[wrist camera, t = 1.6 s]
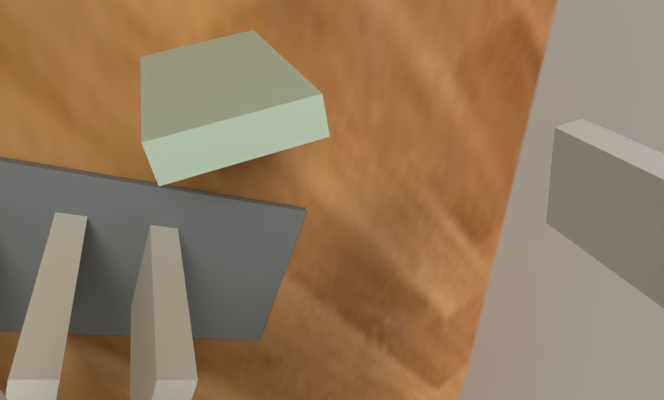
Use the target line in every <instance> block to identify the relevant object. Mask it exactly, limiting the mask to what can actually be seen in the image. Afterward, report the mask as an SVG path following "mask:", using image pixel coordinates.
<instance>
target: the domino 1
mask: <svg viewBox="0 0 664 400" xmlns="http://www.w3.org/2000/svg"><path fill="white" fill-rule="evenodd" d="M87 217H88V216H80V215H73V214H65V213H57V212H55V215H54V219H53V222H52V226H51V229H50V233H49V236H48V240H47V243H46V247H45V250H44V254H43V258H42V261H41V265H40V268H39V272H38V275H37V279H36V282H35V286H34V289H33V293H32V296H31V300H30V303H29V307H28V310H27V314H26V317H25V321H24V324H23V328H22V332H21V335H20V339H19V342H18V346H17V349H16V353H15V356H14V360H13V363H12V367H11V370H10V374H9V377H8V382H7V390H6V398H7V399H8V400H56V398H57V392H58V387H59V381H60V376H61V370H62V364H63V358H64V352H65V346H66V340H67V334H68V329H69V323H70V317H71V311H72V305H73V299H74V293H75V287H76V282H77V276H78V270H79V264H80V258H81V252H82V246H83V240H84V234H85V229H86V223H87Z"/></svg>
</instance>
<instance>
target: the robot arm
mask: <svg viewBox="0 0 664 400" xmlns="http://www.w3.org/2000/svg"><path fill="white" fill-rule="evenodd" d="M546 223H547V224H549V225H550V226H551V227H553V228H554V229H556V230H557V231H558V232H560V233H561V234H562V235H564V236H565V237H567V238H568V239H569V240H571V241H572V242H573V243H575V244H576V245H578V246H579V247H580V248H582V249H583V250H585V251H586V252H587V253H589V254H590V255H591V256H593V257H594V258H596V259H597V260H598V261H600V262H601V263H602V264H604V265H605V266H606V267H608V268H609V269H610V270H612V271H613V272H615V273H616V274H617V275H619V276H620V277H621V278H623V279H624V280H626V281H627V282H629V283H630V284H631V285H632V286H634V287H635V288H637V289H638V290H640V291H641V292H642V293H644V294H645V295H646V296H648V297H649V298H650V299H652V300H653V301H655V302H656V303H657V304H659V305H660V306H661V307H663V308H664V154H663V153H660V152H658V151H656V150H653V149H651V148H649V147H647V146H644V145H642V144H640V143H637V142H635V141H633V140H630V139H628V138H626V137H623V136H621V135H619V134H617V133H614V132H612V131H609V130H607V129H605V128H603V127H600V126H598V125H596V124H593V123H591V122H589V121H586V120H584V119H579V120H576V121H573V122H570V123H567V124H563V125H560V126H557V127H555V131H554V142H553V153H552V164H551V176H550V187H549V199H548V209H547V220H546ZM0 400H8V399H7V398H6V397H5V395H4V394H3V393H2V391H1V390H0Z"/></svg>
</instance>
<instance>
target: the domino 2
mask: <svg viewBox="0 0 664 400" xmlns="http://www.w3.org/2000/svg"><path fill="white" fill-rule="evenodd" d="M197 382H198V376H197V368H196V361H195V353H194V346H193V338H192V331H191V323H190V315H189V308H188V300H187V293H186V285H185V278H184V270H183V263H182V255H181V247H180V240H179V232H178V228H170V227H162V226H155V225H150V229H149V233H148V237H147V241H146V245H145V250H144V254H143V258H142V262H141V266H140V271H139V275H138V279H137V283H136V288H135V292H134V296H133V300H132V304H131V349H130V400H192V397H193V394H194V391H195V388H196V385H197Z"/></svg>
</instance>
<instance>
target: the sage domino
mask: <svg viewBox="0 0 664 400" xmlns="http://www.w3.org/2000/svg"><path fill="white" fill-rule="evenodd" d="M140 87H141V143H142V145H143V148H144V150H145V153H146V155H147V158H148V160H149V163H150V166H151V168H152V171H153V173H154V176H155V178H156V181H157V183H158V186H162V185H165V184H169V183H172V182H176V181H179V180H183V179H186V178H190V177H193V176H196V175H200V174H203V173H207V172H210V171H214V170H217V169H220V168H224V167H227V166H231V165H234V164H238V163H241V162H245V161H248V160H251V159H255V158H258V157H262V156H265V155H269V154H272V153H275V152H279V151H282V150H286V149H289V148H293V147H296V146H299V145H303V144H306V143H310V142H313V141H317V140H320V139H324V138H327V137H330V135H329V130H328V124H327V118H326V112H325V106H324V100H323V95H322V93H321V92H320V91H319V90H318V89H317V88H316V87H315V86H314V85H312V84H311V83H310V82H309V81H308V80H307V79H306V78H305V77H304V76H303V75H302V74H301V73H299V72H298V71H297V70H296V69H295V68H294V67H293V66H292V65H291V64H290V63H289V62H288V61H286V60H285V59H284V58H283V57H282V56H281V55H280V54H279V53H278V52H277V51H276V50H275V49H273V48H272V47H271V46H270V45H269V44H268V43H267V42H266V41H265V40H264V39H263V38H262V37H260V36H259V35H258V34H257V33H256V32H255V31H254V30H250V31H246V32H242V33H238V34H233V35H229V36H225V37H221V38H216V39H212V40H208V41H204V42H200V43H195V44H191V45H187V46H183V47H178V48H174V49H170V50H166V51H161V52H157V53H153V54H149V55H145V56H140Z"/></svg>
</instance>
